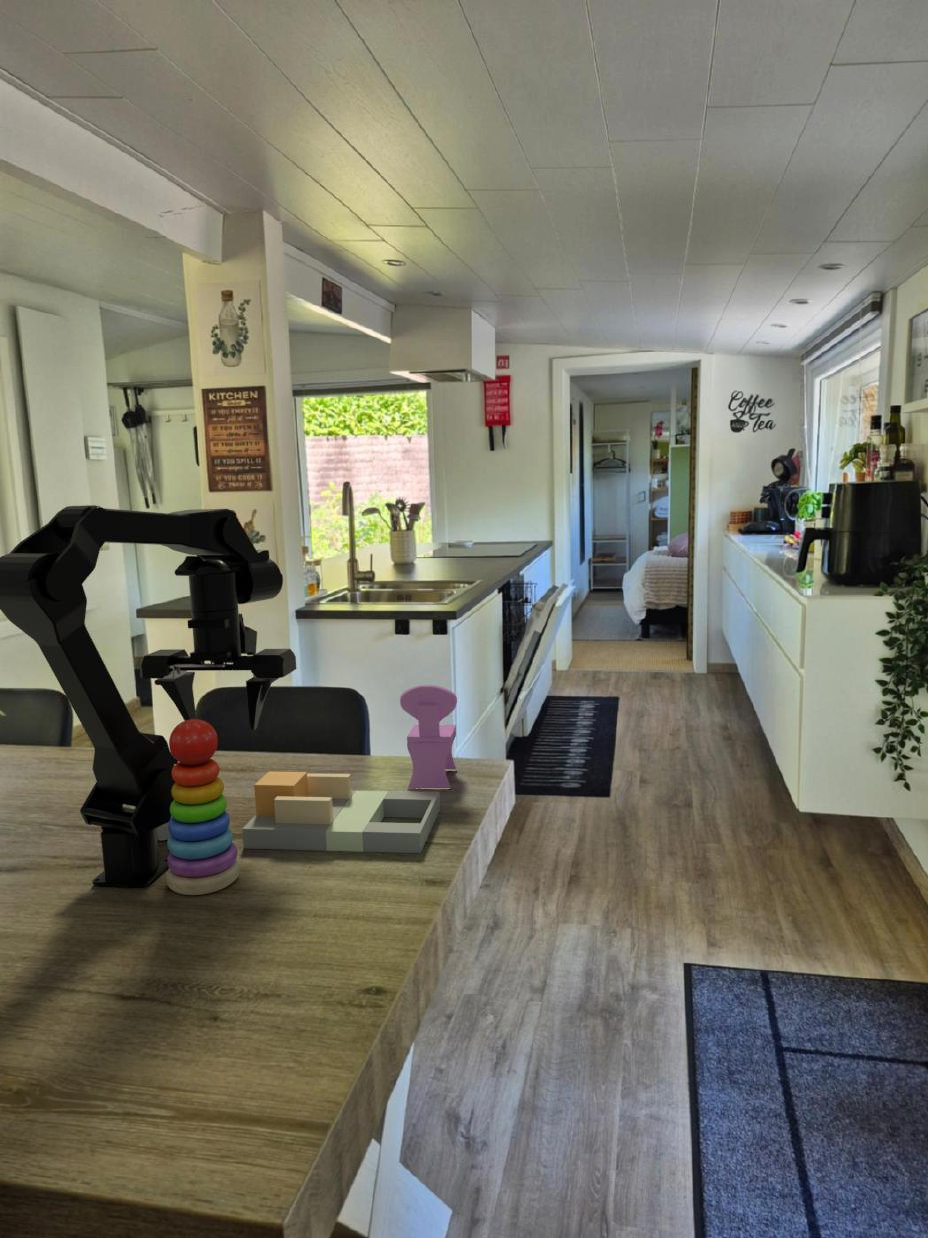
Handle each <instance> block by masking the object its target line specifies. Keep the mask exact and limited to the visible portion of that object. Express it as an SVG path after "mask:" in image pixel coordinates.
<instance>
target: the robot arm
mask: <svg viewBox="0 0 928 1238" xmlns="http://www.w3.org/2000/svg"><path fill="white" fill-rule="evenodd" d="M105 543H107V544H108V543H109V544H110V543H112V544H130V545H131V544H133V545H134V544H136V545H155V546H157V545H159V546H163V547H167V548H168V549H170V550H172V551H175V552H179V553H183V554H186V555H187V556H185V558H184V560H183V561H182V563H181V564H179V565H178V566H177V568H176V569H175V570H174V575H175V576H178V577H180V576H181V577H188V584H189V600H190V613H191V619H188V620H187V629H192V638H193V639H192V640H193V651H191V652H190V653H189V654H188V653H187V650H186V649H184V648H183V649H175V648H174V649H158V650H156V651H153V652H151V653H148V654H145V655H143V657H142V658H141V660H140V662H139V675H140V679H155V680H154V685H155V686H160V687H162V689H163V690H164V692H165V693H166V694H167V695H168V697H169V698H170V700H171V701H172V702H173V704H174V705H175V707H176V709H177V710H178V712H179V714H180V716H181V717H182V719H183V721H186V720H190V719H197V712H196V706H195V705H196V704H195V697H194V687H193V685H194V679H195V675H196V672H197V671H210V672H211V671H213V672H214V671H250V672H251V673H252V675H253V677H251V678H249V679H247V680H246V681H245V687H246V688H245V689H246V698H247V699H246V700H247V715H248V722H249V727H250V730H251V731H255V730H256V729H257V727H258V724H259V720H260V717H261V714H262V710H263V707H264V704H265V701H266V697H267V694H268V692H269V690H270V687H271V685H272V684H274V682H275V681H277V680H279V679H282V678H284V677H286V676H287V675H289V674H291V673H292V672H294V671H295V670H297V657H296V655H295V652H293V650H292V649H291V648H264V649H261V650H260V651H258V652H257V642H258V641H257V640H258V631H257V630H255V629H253V628H251V627H249V626H246V625H245V622H244V616H243V613H240V612H239V605H244V604H249V603H255V602H261V601H267V600H272V599H274V598H275V597H277V596H278V595H279V594H280V593H281V590H282V588H283V585H284V578H283V577H284V576H283V574H282V573H281V570H280V568H279V566H278V564H277V563H276V562H275V561H274V560H273V559H271V558H270V550H269V549H256V548H255V546H254V544H253V541H251V539H250V537H249V535H248V534H247V532H246V530H245V528H244V526H243V525H242V523H241V522H240V520H239V517H237V513H236V512H235V511H234V510H232V509H229V508H208V509H206V508H203V509H201V508H200V509H199V508H197V509H184V510H178V511H172V512H167V513H163V512H154V511H153V512H152V511H142V510H141V511H139V510H130V509H129V510H128V509H118V508H105V507H101V506H100V505H96V504H95V505H94V504H92V505H90V504H89V505H88V504H87V505H69V506H65V507H63V508H62V509H61V510H59V511H57V512H56V514H55V515H54V516H53V517H52V518H51V519H50V521H48V523H46V524H45V525H43V526H42V527H40V528H39V529H37V530H36V531H35V532H33V533H32V534H30V535H28V536H27V537H26V538H24V539H23V540H21V541H20V542H19V543H17V544H16V546H14V548H12V550H10V552H9V553H6V554H4V555H1V556H0V611H1V612H2V614H3V615H4V616H5V617H6V619H7V620H8V621H9V622H10V623H12V624H13V625H14V626H15V627H17V628H18V629H20V630H21V631H22V632H23V633H25V634H26V635H27V636H28V637H29V638H31V639H32V640H33V641H34V642H36V644H37V645H38V647H39V649H40V650H41V652H42V655H43V657H44V658H45V660H46V662H47V664H48V666H49V667H50V670H51V671H52V672H53V675H54V676H55V678H56V680H57V682H58V684H59V686H60V688H61V689H62V691H63V694H65V696H66V699H67V701H69V704H70V706H71V707H72V710H73V711H74V713H75V714H76V716H77V719H78V721H79V722H80V723H81V726H82V727H83V729H84V731H85V733H86V735H87V736H88V738H89V740H90V743H91V744H92V746H93V748H94V753H93V761H92V772H93V774H94V777H95V781H96V782H95V784H94V785H93V787H92V789H91V791H90V792H89V794H88V795H87V798H86V799H85V800H84V803H83V804H82V806H81V807H80V809H79V812H80V815H81V817H82V818H83V819H82V820H83V821H84V823H85V824H86V825H89V826H97V827H101V832H100V842H101V843H100V844H101V853H102V862H103V871H102V872H101V873H100V874H98V875H97V876H96V877H95V878H93V879H92V885H93V886H104V887H131V888H133V887H135V888H138V887H139V888H145V887H147V886H148V885H150V884H151V883H152V882H153V881H155V879H157V878H158V876H160V875H161V874H162V873H163V872H164V871H165V870H166V869H167V868H169V866H168V862H167V860H168V857H165V858H161V857H159V856H160V854H159V853H160V852H159V840H158V839H157V827H159V826H161V825H164V824H166V823H168V822H169V821H170V819H171V813H170V805H171V803H172V802H173V801H174V798H173V796H172V792H171V791H172V787H173V785H174V784H175V783H176V782H175V781H174V780H173V778H172V769H173V767H174V765H175V764H177V763H178V761H177V760H176V759H175V758H174V757H173V756H172V754H171V752H170V750H169V742H168V741H167V740H166V738H165V737H164V736H163V735H161V734H154V733H147V732H146V733H145V732H141V731H140V730H139V728H138V727H137V724H136V723H135V721H134V719H133V717H132V715H131V713H130V711H129V709H128V707H127V705H126V703H125V701H124V699H123V698H122V696H121V693H120V691H119V690H118V688H117V686H116V683H115V682H114V680H113V678H112V676H111V674H110V671H109V670H108V668H107V666H106V664H105V662H104V660H103V658H102V656H101V654H100V652H99V651H98V647H96V644H95V642H94V641H93V638H92V637H91V634H90V633H89V631H88V628H87V626H86V623H85V621H86V614H87V613H86V612H87V604H88V600H87V599H88V597H87V595H86V592H85V589H84V585H83V584H84V582H85V581H86V580H87V579H88V577H89V576H90V575H91V574H92V572H94V570H95V569H96V566H97V563H98V559H99V554H100V550H101V548H102V547H103V546H104V544H105ZM243 654H244V655H243ZM206 662H208V663H206ZM209 662H210V663H209ZM124 805H126V806H129V807H126V806H124ZM130 806H135V807H136V809H131V808H130Z"/></svg>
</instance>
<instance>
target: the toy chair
mask: <svg viewBox="0 0 928 1238" xmlns="http://www.w3.org/2000/svg"><path fill="white" fill-rule="evenodd" d="M457 703H458V697H457V695H456V693H455V692H453V691H452V690H449V689H448V688H446V687H441V686H439V685H435V684H434V685H432V684H431V685H430V684H427V685H425V684H422V685H416V686H412V687H411V688H408V689H406V690H404V691H403V692H402V693H401V695H400V697H399V704H400V707H401V708H402V711H404V712H405V713H407V714H408V715H410V716H411V717H413V718H414V719H415V720H417V721H418V724H413V726H412V728H411V730H410V732H409V733H408V735H407V737H406V743H407V744H406V745H407V746H406V747H407V751H408V754H409V757H410V759H411V761H412V774H411V778H410V782H409V784H408V786H407V790H408V789H409V788H410V789H416V788H418V789H420V788H450V787H451V784H450V783H449V780H448V777H447V772H446V771H445V769H457V766H456V764H455V761H454V757H453V750H452V749H453V744H454V741H455V738H456V735H457V725H456V724H441V725H440V722H441V721H442V720H444V719H445V718H446V717H448V716H450V714H451V713H453V712H454V710H455V709H456V707H457Z"/></svg>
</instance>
